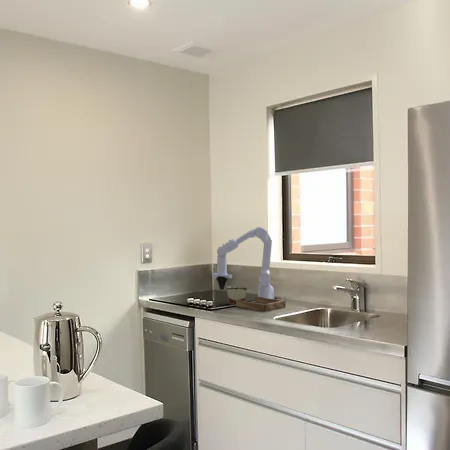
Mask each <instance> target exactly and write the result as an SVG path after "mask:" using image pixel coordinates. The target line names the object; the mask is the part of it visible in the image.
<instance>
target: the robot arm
mask: <svg viewBox="0 0 450 450" xmlns="http://www.w3.org/2000/svg"><path fill="white" fill-rule="evenodd" d="M256 237H257V238H258V239H260V241H261V242H262V243H263V248H262V249H263V250H262V259H261V260H262V262H261V269H260V270H261V271H260V274H259V276H258V281H259V284H258V295H257V297H263V298H270V299H275V290H274V286H272V285H271V278H270V267H271V266H270V265H271V256H272V254H271V253H272V247H273V246H272V245H273V244H272V243H273V240H272V238H271V236H270V234H269V233H268V231H267V230H266V229H265V228H264V227H261V226H257V227H256V228H253V229H251V230H249V231H248V232H246V233H244V234H242V235H240V237H239V236H238V237H237V238H236V239H235V238H233V239H230V238H229V240H228V241H227V242H225V243H222V245H221V246H218V247H217V249H216V254H217V256H216V257H217V261H216V263H217V264H216V267H217V268H216V272H213V273H211V277H215V280H216V281H217V283H218V286H219V287H218V288H219V289H220V290H221V291H222V290H224V289H225V286H226V283H227V281H228V279H233V274H231V273H230V274H229V273H228V269H227V268H228V267H227V266H228V264H227V263H228V261H227V260H228V259H227V254H228V253H230V252H233V251H234V250H236V249H238V248H239V244H241V243H244V242H245V241H246V240H249V239H251V238H256Z"/></svg>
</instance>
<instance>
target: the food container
mask: <svg viewBox="0 0 450 450" xmlns="http://www.w3.org/2000/svg"><path fill="white" fill-rule="evenodd" d="M225 290H226V291H227V294H226V295H227V301H228V305H236V304H235V303H236V300H239V301H246V297H247V296H246V295H247V291H248V288H247V286H246V285H227V286H226V289H225Z"/></svg>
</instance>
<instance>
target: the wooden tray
mask: <svg viewBox="0 0 450 450" xmlns="http://www.w3.org/2000/svg"><path fill="white" fill-rule="evenodd" d="M286 304H287V303H286V300H283V299H276V298H274V299H270V298H263V297H258V296H255V297H254V302H253V301H251V302H250V301H246V300H245V301H239V300H236V304H235V307H236V308H242V309H247V310H254V311H261V312H269V311H274V310H278V309H283V308H286Z"/></svg>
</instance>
